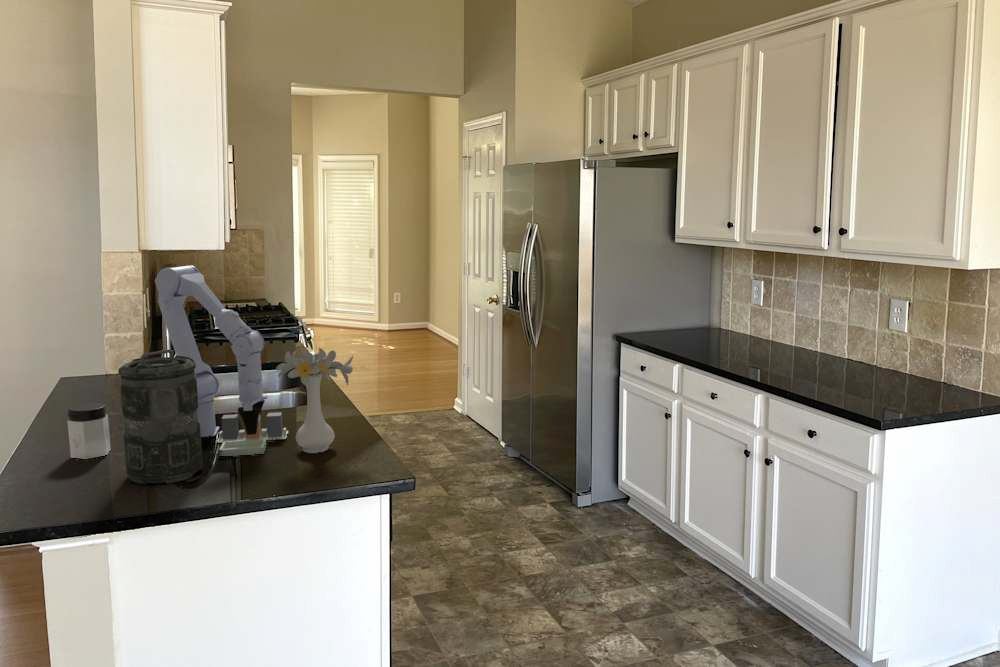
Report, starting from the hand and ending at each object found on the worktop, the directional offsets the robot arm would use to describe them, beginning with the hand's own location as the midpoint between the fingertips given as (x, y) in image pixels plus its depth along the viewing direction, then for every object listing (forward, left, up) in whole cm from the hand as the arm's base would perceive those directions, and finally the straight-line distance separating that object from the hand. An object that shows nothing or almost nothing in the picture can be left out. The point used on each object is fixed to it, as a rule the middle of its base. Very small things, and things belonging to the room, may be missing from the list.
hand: (253, 431), depth 209 cm
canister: (-16, -25, -2) cm, 30 cm away
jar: (-37, -7, -2) cm, 38 cm away
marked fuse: (0, 0, -1) cm, 1 cm away
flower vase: (+17, -12, -2) cm, 21 cm away
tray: (-1, -11, -2) cm, 11 cm away
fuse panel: (0, 0, -2) cm, 2 cm away
